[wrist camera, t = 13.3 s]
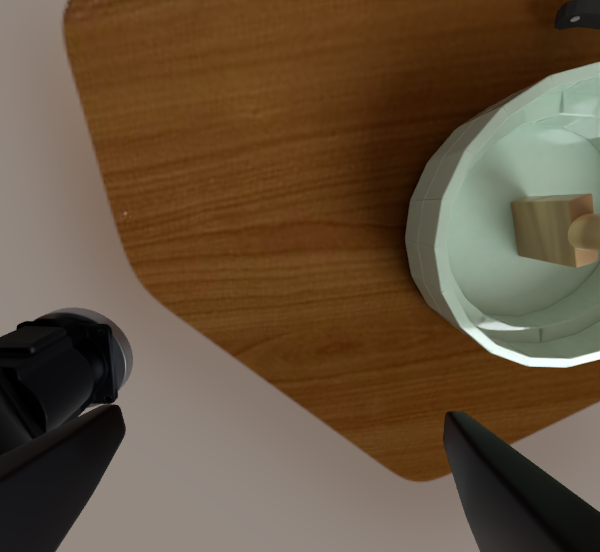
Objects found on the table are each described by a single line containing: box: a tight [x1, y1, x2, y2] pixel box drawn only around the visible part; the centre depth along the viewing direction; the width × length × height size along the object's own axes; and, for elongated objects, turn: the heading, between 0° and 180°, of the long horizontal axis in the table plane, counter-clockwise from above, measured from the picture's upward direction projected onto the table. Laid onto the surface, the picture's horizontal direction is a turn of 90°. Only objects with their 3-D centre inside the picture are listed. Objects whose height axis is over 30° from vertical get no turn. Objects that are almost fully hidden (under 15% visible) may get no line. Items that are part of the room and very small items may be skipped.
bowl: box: [405, 61, 600, 368], centre depth 17 cm, size 15×15×4 cm
